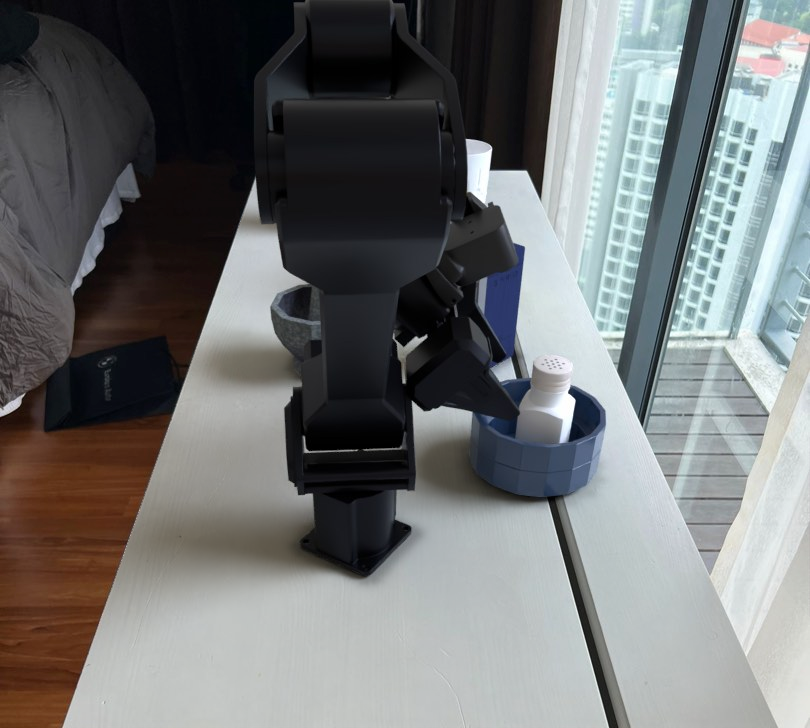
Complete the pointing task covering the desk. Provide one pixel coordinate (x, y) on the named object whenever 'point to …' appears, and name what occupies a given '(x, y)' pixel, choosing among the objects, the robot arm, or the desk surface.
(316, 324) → the mortar and pestle
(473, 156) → the white cup
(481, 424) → the bowl
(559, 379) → the pepper shaker
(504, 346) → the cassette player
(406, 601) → the desk surface
